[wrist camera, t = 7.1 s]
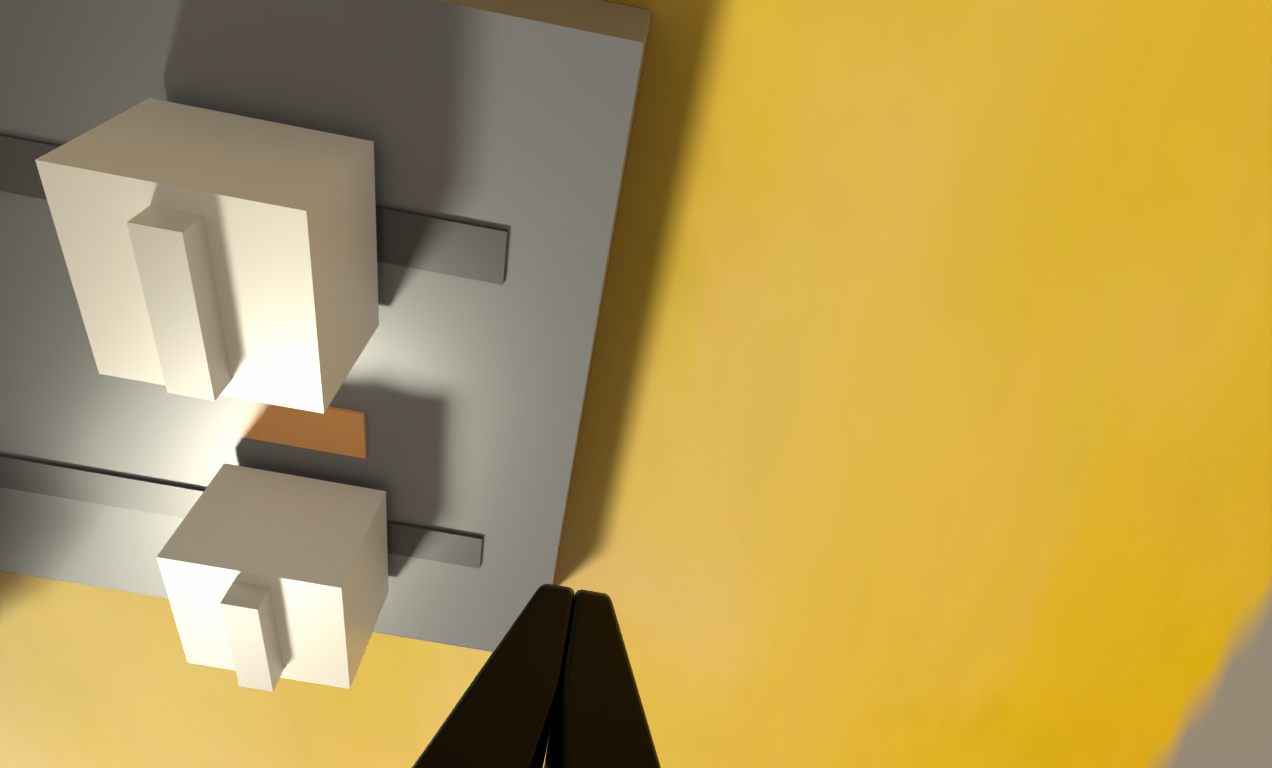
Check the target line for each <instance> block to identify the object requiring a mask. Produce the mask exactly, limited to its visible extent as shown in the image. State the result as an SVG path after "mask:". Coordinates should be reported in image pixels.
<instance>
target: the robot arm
mask: <svg viewBox="0 0 1272 768" xmlns="http://www.w3.org/2000/svg"><path fill="white" fill-rule="evenodd" d="M547 744H548V745H547ZM546 748H547V751H546ZM545 753H546V758H545ZM544 758H545V765H544V768H661V767H660V763H659V760H658V757H657V753H656V750H655V746H654V743H653V740H652V736H651V733H650V729H649V726H648V723H647V719H646V716H645V712H644V709H643V706H642V702H641V699H640V695H639V692H638V689H637V685H636V682H635V678H634V675H633V671H632V668H631V665H630V661H629V658H628V654H627V651H626V648H625V644H624V641H623V637H622V634H621V631H620V627H619V624H618V620H617V617H616V614H615V610H614V607H613V603H612V601H611V599H610V597H609V596H608V595H607V594H605V593H599V592H593V591H587V590H579V591H577V592H576V593H575V597H574V591H573V589H571V588H569V587H564V586H558V585H552V584H543V585H541V586H540V587H539V588H538V589H537V590H536V592H535V593H534V595H533V596H532V597H531V599H530V600H529V602H528V603H527V605H526V606H525V607H524V609H523V610H522V612H521V613H520V615H519V616H518V617H517V619H516V620H515V622H514V623H513V625H512V626H511V627H510V629H509V630H508V632H507V633H506V635H505V636H504V637H503V639H502V640H501V642H500V643H499V645H498V646H497V647H496V649H495V650H494V652H493V653H492V655H491V656H490V657H489V659H488V660H487V662H486V663H485V665H484V666H483V667H482V669H481V670H480V672H479V673H478V675H477V676H476V677H475V679H474V680H473V682H472V683H471V685H470V686H469V687H468V689H467V690H466V692H465V693H464V695H463V696H462V697H461V699H460V700H459V702H458V703H457V704H456V706H455V707H454V709H453V710H452V712H451V713H450V714H449V716H448V717H447V719H446V720H445V722H444V723H443V724H442V726H441V727H440V729H439V730H438V732H437V733H436V734H435V736H434V737H433V739H432V740H431V742H430V743H429V744H428V746H427V747H426V749H425V750H424V752H423V753H422V754H421V756H420V757H419V759H418V760H417V762H416V763H415V764H414V766H413V767H412V768H543V763H544Z"/></svg>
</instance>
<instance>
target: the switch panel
mask: <svg viewBox="0 0 1272 768" xmlns="http://www.w3.org/2000/svg"><path fill="white" fill-rule="evenodd" d="M651 13H652V11H651V10H646V9H642V8H637V7H632V6H627V5H622V4H617V3H612V2H607V1H603V0H0V571H5V572H11V573H17V574H23V575H29V576H35V577H41V578H47V579H53V580H59V581H65V582H72V583H78V584H84V585H90V586H96V587H102V588H108V589H114V590H120V591H126V592H132V593H138V594H144V595H150V596H157V597H163V598H168V595H167V591H166V588H165V585H164V581H163V578H162V574H161V571H160V568H159V564H158V561H157V558H156V557H157V555H158V554H159V553H160V551H161V550H162V549H163V547H164V546H165V544H166V543H167V542H168V540H169V539H170V538H171V536H172V535H173V533H174V532H175V531H176V529H177V528H178V526H179V525H180V524H181V522H182V521H183V520H184V518H185V517H186V515H187V514H188V513H189V511H190V510H191V509H192V507H193V506H194V504H195V503H196V502H197V500H198V499H199V497H200V496H201V495H202V493H203V492H204V491H205V489H206V488H207V486H208V485H209V484H210V482H211V481H212V479H213V478H214V477H215V475H216V474H217V473H218V471H219V470H220V468H221V467H222V466H223V464H224V463H225V464H231V465H237V466H243V467H249V468H254V469H260V470H266V471H272V472H277V473H283V474H289V475H295V476H301V477H306V478H312V479H318V480H324V481H329V482H335V483H341V484H347V485H352V486H358V487H364V488H370V489H376V490H381V491H386V513H387V551H388V588H389V592H388V594H387V597H386V599H385V602H384V604H383V607H382V609H381V612H380V614H379V617H378V619H377V622H376V624H375V627H374V629H373V632H375V633H381V634H387V635H393V636H400V637H406V638H412V639H418V640H424V641H430V642H436V643H442V644H448V645H454V646H460V647H466V648H472V649H478V650H485V651H491V652H494V650H495V649H496V647H497V646H498V645H499V643H500V642H501V640H502V639H503V637H504V636H505V635H506V633H507V632H508V630H509V629H510V627H511V626H512V625H513V623H514V622H515V620H516V619H517V617H518V616H519V615H520V613H521V612H522V610H523V609H524V607H525V606H526V605H527V603H528V602H529V600H530V599H531V597H532V596H533V595H534V593H535V592H536V590H537V589H538V588H539V587H540V586H541V585H543V584H552V585H553V583H554V577H555V571H556V565H557V559H558V554H559V548H560V542H561V536H562V530H563V525H564V519H565V513H566V507H567V501H568V496H569V490H570V484H571V478H572V472H573V466H574V461H575V455H576V449H577V443H578V437H579V432H580V426H581V420H582V414H583V408H584V402H585V397H586V391H587V385H588V379H589V373H590V368H591V362H592V356H593V350H594V344H595V339H596V333H597V327H598V321H599V315H600V309H601V304H602V298H603V292H604V286H605V280H606V275H607V269H608V263H609V257H610V251H611V245H612V240H613V234H614V228H615V222H616V216H617V211H618V205H619V199H620V193H621V187H622V182H623V176H624V170H625V164H626V158H627V152H628V147H629V141H630V135H631V129H632V123H633V118H634V112H635V106H636V100H637V94H638V88H639V83H640V77H641V71H642V65H643V59H644V54H645V48H646V42H647V36H648V30H649V25H650V19H651ZM149 98H152V99H158V100H163V101H168V102H173V103H178V104H183V105H188V106H194V107H199V108H204V109H209V110H214V111H219V112H225V113H230V114H235V115H240V116H245V117H250V118H255V119H261V120H266V121H271V122H276V123H281V124H286V125H292V126H297V127H302V128H307V129H312V130H317V131H322V132H328V133H333V134H338V135H343V136H348V137H353V138H359V139H364V140H369V141H374V170H375V204H376V239H377V274H378V308H379V325H378V327H377V329H376V330H375V332H374V334H373V335H372V337H371V338H370V340H369V342H368V343H367V345H366V346H365V348H364V350H363V351H362V353H361V355H360V356H359V358H358V359H357V361H356V363H355V364H354V366H353V367H352V369H351V371H350V372H349V374H348V375H347V377H346V379H345V380H344V382H343V384H342V385H341V387H340V388H339V390H338V392H337V393H336V395H335V396H334V398H333V400H332V401H331V403H330V405H329V406H328V408H327V409H326V411H325V413H324V414H323V413H318V412H312V411H306V410H301V409H295V408H289V407H284V406H278V405H272V404H267V403H261V402H255V401H250V400H244V399H239V398H233V397H227V396H222V395H219V396H218V398H217V399H216V400H215V401H211V400H205V399H200V398H194V397H188V396H183V395H177V394H171V393H167V389H166V386H165V385H160V384H154V383H148V382H143V381H137V380H131V379H126V378H120V377H114V376H109V375H103V374H99V372H98V368H97V365H96V362H95V358H94V355H93V352H92V348H91V345H90V342H89V338H88V335H87V332H86V328H85V325H84V322H83V318H82V315H81V312H80V308H79V305H78V302H77V298H76V295H75V292H74V288H73V285H72V282H71V278H70V275H69V271H68V268H67V265H66V261H65V258H64V255H63V251H62V248H61V245H60V241H59V238H58V235H57V231H56V228H55V225H54V221H53V218H52V215H51V211H50V208H49V205H48V201H47V198H46V195H45V191H44V188H43V185H42V181H41V178H40V175H39V171H38V168H37V165H36V161H35V160H36V159H37V158H39V157H41V156H43V155H45V154H47V153H49V152H50V151H52V150H54V149H56V148H58V147H60V146H62V145H63V144H65V143H67V142H69V141H71V140H73V139H75V138H76V137H78V136H80V135H82V134H84V133H86V132H88V131H89V130H91V129H93V128H95V127H97V126H99V125H101V124H102V123H104V122H106V121H108V120H110V119H112V118H114V117H115V116H117V115H119V114H121V113H123V112H125V111H127V110H128V109H130V108H132V107H134V106H136V105H138V104H140V103H141V102H143V101H145V100H147V99H149Z"/></svg>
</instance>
